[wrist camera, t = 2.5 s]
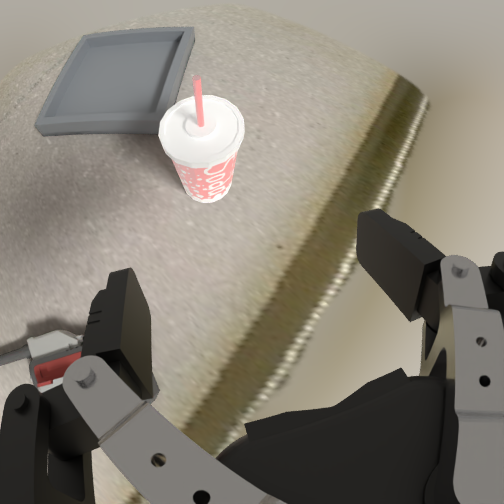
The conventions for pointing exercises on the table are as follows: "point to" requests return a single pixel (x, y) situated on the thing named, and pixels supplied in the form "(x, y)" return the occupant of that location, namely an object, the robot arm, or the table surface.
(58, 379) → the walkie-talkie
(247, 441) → the robot arm
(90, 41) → the tray
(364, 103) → the table surface
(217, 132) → the beverage cup
